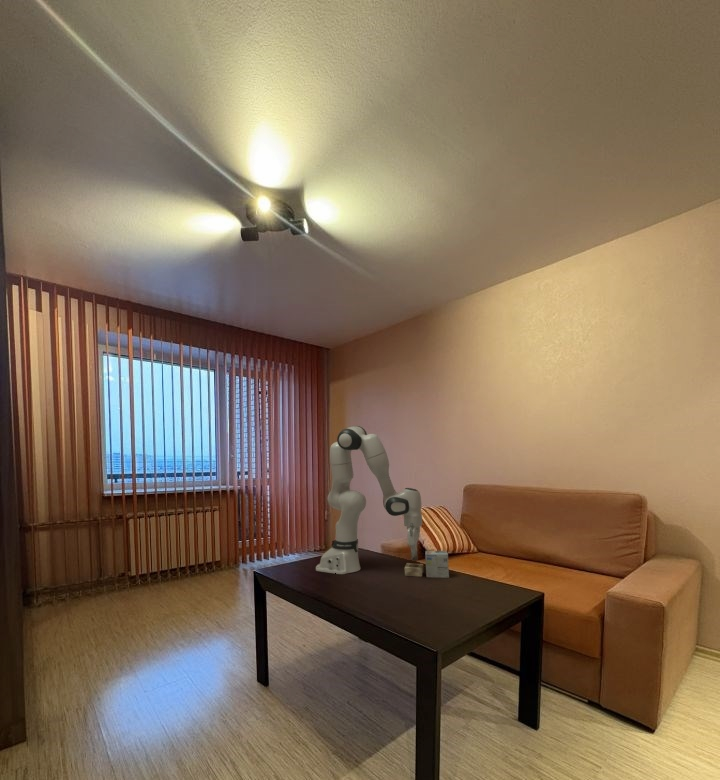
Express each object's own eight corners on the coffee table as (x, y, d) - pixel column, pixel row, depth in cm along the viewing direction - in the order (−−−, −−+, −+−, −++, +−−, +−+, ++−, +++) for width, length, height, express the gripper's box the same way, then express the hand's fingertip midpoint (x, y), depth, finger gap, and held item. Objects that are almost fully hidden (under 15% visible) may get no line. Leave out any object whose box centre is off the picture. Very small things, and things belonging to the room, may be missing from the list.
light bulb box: (447, 573, 194) (447, 550, 195) (449, 578, 187) (448, 554, 189) (425, 573, 195) (424, 550, 196) (426, 577, 188) (425, 553, 190)
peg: (418, 559, 194) (417, 540, 196) (412, 560, 194) (411, 540, 195) (415, 558, 197) (415, 538, 198) (410, 558, 196) (409, 539, 198)
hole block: (404, 575, 192) (404, 567, 192) (406, 570, 199) (406, 563, 200) (421, 576, 190) (421, 568, 190) (423, 571, 197) (423, 564, 198)
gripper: (417, 526, 187) (418, 557, 185) (421, 518, 207) (422, 546, 205) (403, 525, 188) (404, 556, 187) (409, 518, 208) (410, 545, 206)
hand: (414, 551), depth 196 cm, fingers closed on peg, 3 cm apart
